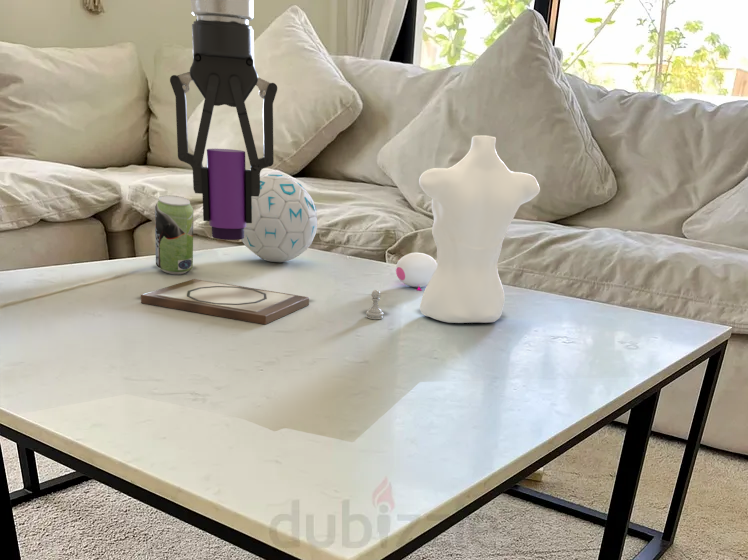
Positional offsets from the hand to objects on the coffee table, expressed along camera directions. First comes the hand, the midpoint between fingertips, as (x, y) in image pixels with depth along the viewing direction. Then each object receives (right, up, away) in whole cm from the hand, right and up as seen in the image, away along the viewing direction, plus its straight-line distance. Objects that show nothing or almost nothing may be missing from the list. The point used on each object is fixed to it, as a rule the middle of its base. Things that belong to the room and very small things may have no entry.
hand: (227, 220), depth 107 cm
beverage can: (-14, 0, +25) cm, 28 cm away
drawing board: (-2, -9, +8) cm, 12 cm away
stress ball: (+27, -1, +29) cm, 39 cm away
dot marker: (0, -2, +1) cm, 2 cm away
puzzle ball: (+1, +7, +40) cm, 41 cm away
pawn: (+20, -12, +7) cm, 24 cm away
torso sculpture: (+33, -11, +11) cm, 37 cm away
